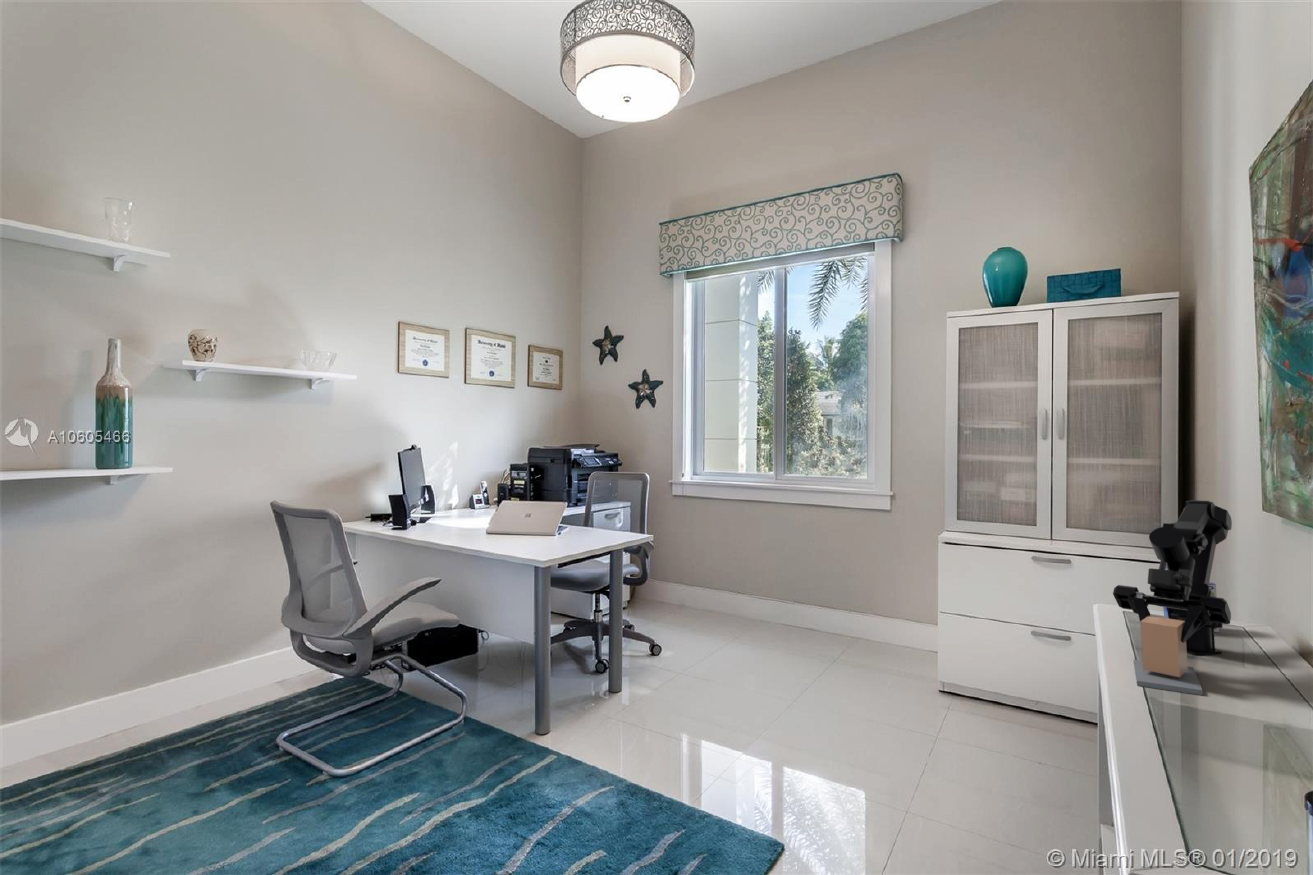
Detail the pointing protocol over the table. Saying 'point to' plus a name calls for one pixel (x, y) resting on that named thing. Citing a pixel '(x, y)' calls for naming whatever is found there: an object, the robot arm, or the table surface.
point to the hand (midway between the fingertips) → (1162, 638)
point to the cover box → (1163, 646)
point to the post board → (1168, 680)
